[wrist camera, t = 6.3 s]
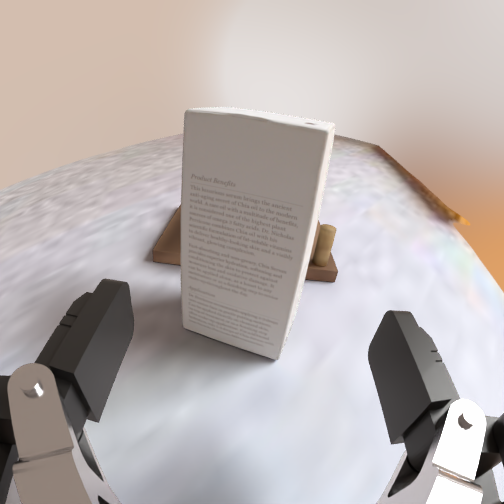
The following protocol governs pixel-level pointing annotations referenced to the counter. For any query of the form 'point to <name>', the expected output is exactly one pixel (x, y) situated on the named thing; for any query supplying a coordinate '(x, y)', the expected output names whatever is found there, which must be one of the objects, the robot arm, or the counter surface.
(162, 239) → the locating plate
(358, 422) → the counter surface
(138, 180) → the counter surface
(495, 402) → the counter surface
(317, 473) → the counter surface
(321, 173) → the skincare box
